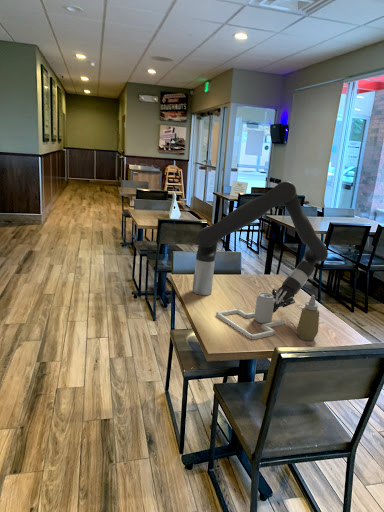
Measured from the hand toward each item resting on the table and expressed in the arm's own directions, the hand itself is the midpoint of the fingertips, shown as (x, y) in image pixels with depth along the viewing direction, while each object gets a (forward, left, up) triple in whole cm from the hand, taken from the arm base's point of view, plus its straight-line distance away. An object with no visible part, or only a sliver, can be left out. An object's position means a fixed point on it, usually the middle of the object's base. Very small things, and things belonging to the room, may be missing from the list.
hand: (271, 311), depth 168 cm
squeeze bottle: (+15, -12, -4) cm, 20 cm away
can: (-3, -3, -4) cm, 6 cm away
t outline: (-6, -6, -4) cm, 10 cm away
